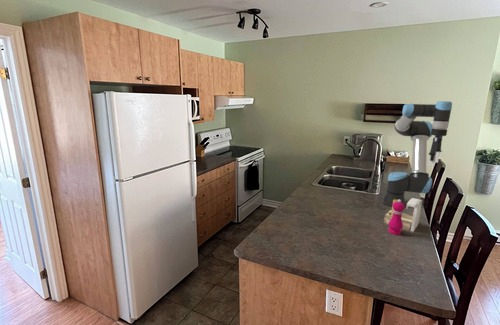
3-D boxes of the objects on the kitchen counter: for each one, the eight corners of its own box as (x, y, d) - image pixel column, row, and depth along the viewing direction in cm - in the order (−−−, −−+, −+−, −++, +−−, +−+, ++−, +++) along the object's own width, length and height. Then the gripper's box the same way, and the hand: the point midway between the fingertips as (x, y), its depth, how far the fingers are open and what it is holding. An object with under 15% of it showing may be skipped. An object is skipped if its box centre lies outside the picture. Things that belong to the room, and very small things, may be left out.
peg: (398, 221, 167) (401, 200, 164) (396, 223, 164) (399, 202, 161) (391, 219, 170) (394, 199, 166) (389, 221, 167) (392, 200, 164)
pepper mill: (394, 236, 149) (399, 202, 145) (384, 230, 156) (389, 197, 151) (404, 234, 151) (410, 201, 146) (394, 228, 158) (399, 196, 153)
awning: (407, 222, 167) (411, 197, 163) (418, 224, 163) (422, 200, 160) (402, 228, 158) (406, 203, 155) (413, 231, 155) (417, 205, 151)
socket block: (389, 216, 174) (390, 209, 173) (414, 223, 165) (415, 216, 163) (383, 222, 165) (384, 215, 164) (409, 230, 156) (410, 222, 155)
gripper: (435, 126, 167) (429, 159, 172) (427, 129, 149) (421, 166, 154) (450, 127, 162) (444, 161, 167) (443, 130, 144) (436, 168, 149)
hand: (433, 164), depth 161 cm, fingers open, 13 cm apart
